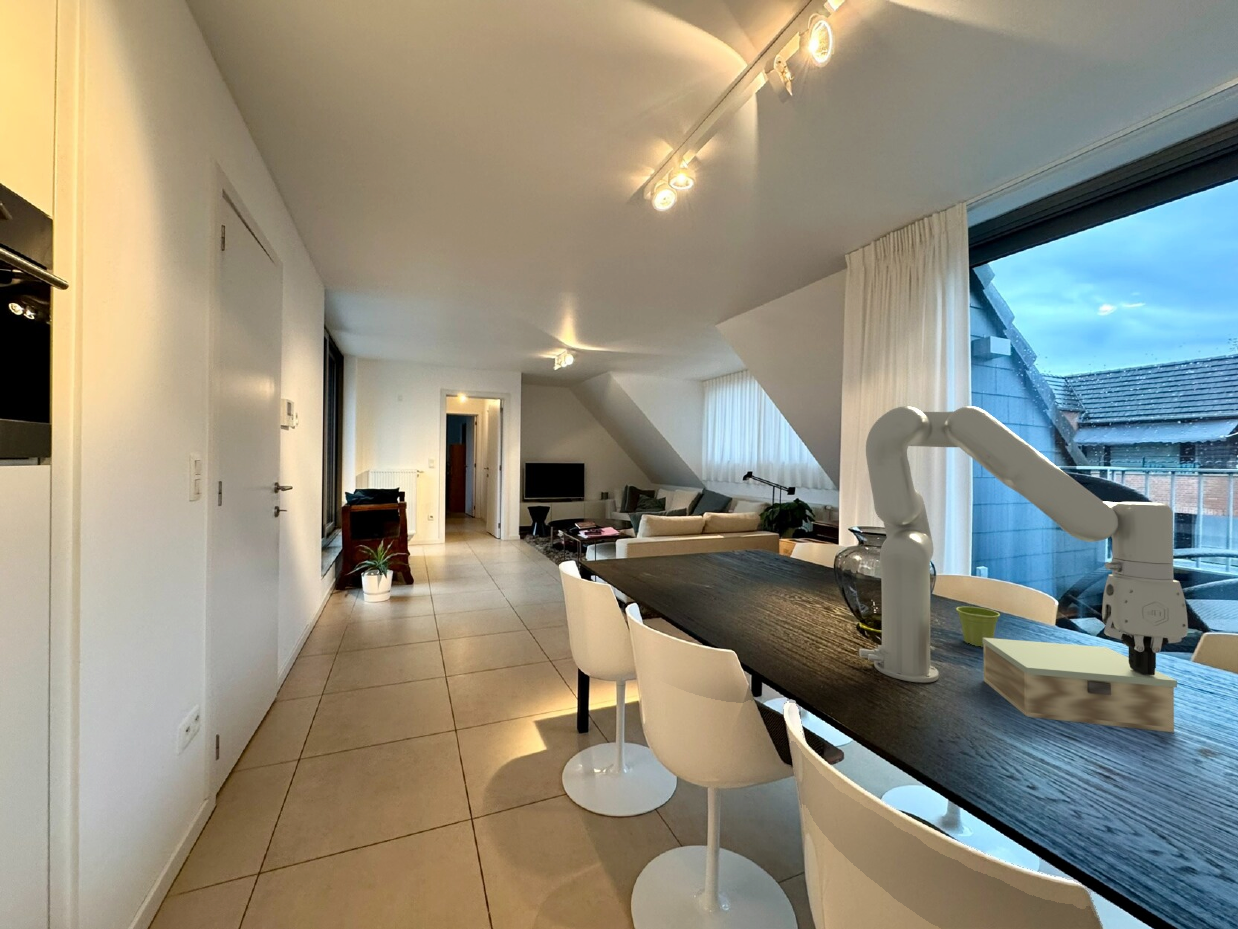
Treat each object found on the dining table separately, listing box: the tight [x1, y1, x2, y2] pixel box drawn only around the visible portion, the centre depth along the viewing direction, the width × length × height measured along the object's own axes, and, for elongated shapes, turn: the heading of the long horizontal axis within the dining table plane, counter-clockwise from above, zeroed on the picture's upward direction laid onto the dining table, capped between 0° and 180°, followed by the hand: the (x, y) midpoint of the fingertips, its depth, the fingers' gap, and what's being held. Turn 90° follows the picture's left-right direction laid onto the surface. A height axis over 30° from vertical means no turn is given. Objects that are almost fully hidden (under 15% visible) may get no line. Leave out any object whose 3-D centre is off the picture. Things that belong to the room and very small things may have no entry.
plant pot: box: [955, 606, 1001, 648], centre depth 128 cm, size 9×9×9 cm
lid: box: [983, 637, 1178, 689], centre depth 95 cm, size 22×16×1 cm
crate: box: [983, 644, 1175, 733], centre depth 95 cm, size 22×16×8 cm
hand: (1142, 671), depth 87 cm, fingers closed
